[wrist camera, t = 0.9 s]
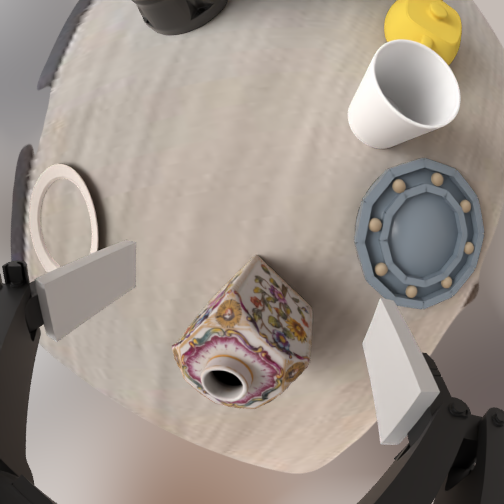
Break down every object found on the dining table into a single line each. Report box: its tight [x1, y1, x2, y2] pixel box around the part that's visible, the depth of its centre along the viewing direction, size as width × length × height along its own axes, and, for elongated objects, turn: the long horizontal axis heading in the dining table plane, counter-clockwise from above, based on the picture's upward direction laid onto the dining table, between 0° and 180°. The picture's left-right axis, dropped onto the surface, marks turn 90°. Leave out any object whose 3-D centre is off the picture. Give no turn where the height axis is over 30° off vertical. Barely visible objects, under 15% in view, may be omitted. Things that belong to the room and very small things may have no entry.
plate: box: [29, 164, 99, 273], centre depth 45 cm, size 26×26×2 cm
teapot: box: [384, 0, 462, 66], centre depth 19 cm, size 18×11×11 cm, turn 156°
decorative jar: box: [172, 255, 313, 409], centre depth 32 cm, size 12×12×18 cm
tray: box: [354, 158, 484, 309], centre depth 31 cm, size 20×20×3 cm
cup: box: [348, 39, 461, 149], centre depth 22 cm, size 8×8×16 cm
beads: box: [368, 173, 474, 298], centre depth 30 cm, size 17×17×2 cm
